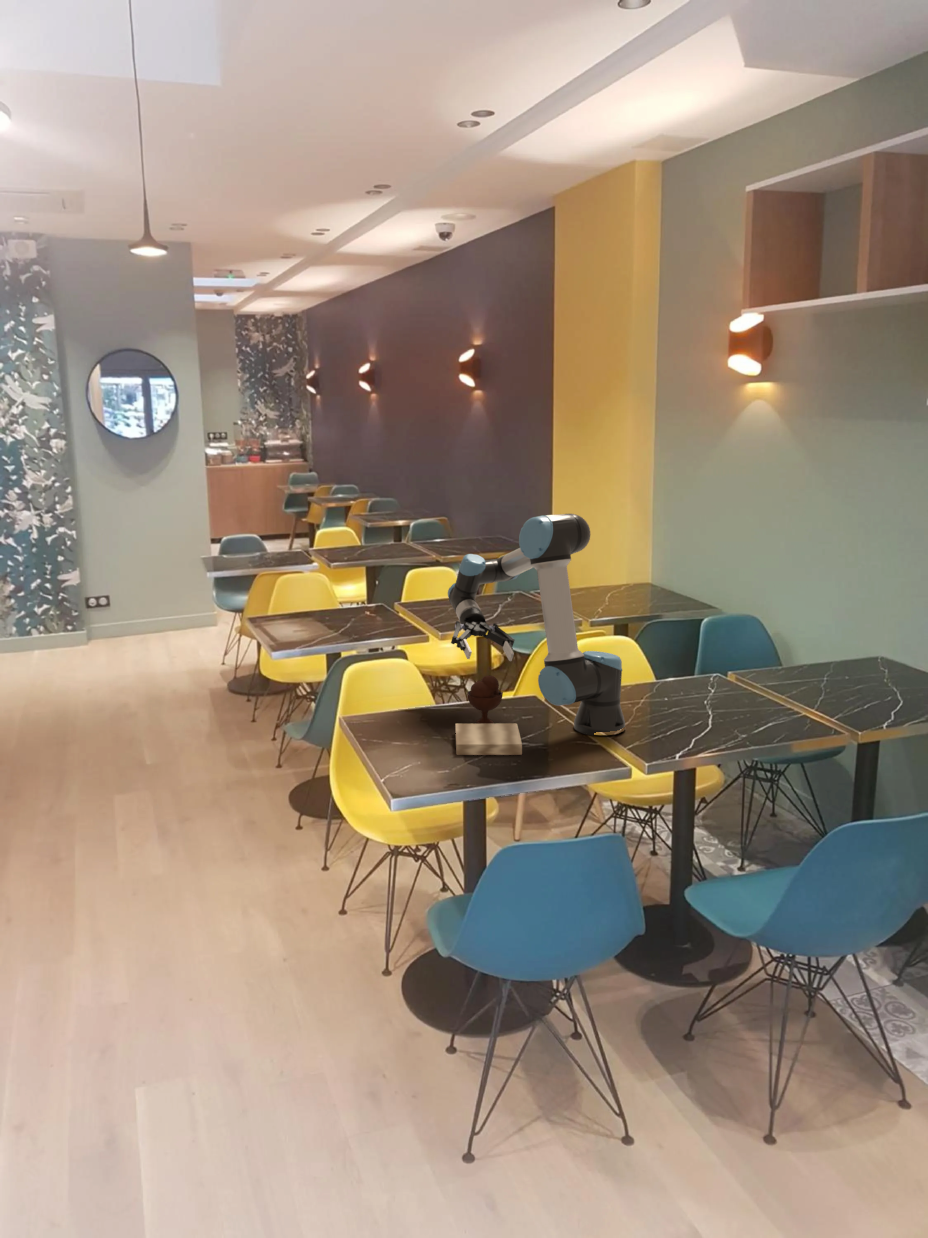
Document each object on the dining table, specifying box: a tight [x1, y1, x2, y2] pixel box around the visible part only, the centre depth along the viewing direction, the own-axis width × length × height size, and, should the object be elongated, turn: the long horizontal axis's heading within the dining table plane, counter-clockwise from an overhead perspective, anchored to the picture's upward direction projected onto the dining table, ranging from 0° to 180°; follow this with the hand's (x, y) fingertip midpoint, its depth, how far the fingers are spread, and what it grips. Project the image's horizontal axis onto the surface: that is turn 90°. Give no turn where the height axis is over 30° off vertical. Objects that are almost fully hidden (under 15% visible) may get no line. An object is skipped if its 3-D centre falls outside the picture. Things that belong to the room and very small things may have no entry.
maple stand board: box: [454, 722, 523, 756], centre depth 279 cm, size 18×18×3 cm
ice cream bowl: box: [466, 675, 504, 724], centre depth 295 cm, size 11×11×15 cm
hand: (490, 656), depth 292 cm, fingers open, 13 cm apart
